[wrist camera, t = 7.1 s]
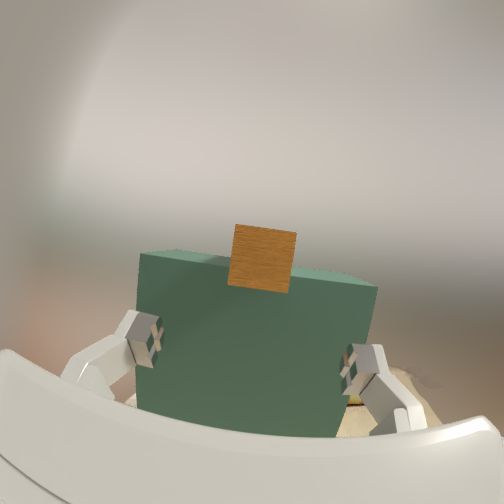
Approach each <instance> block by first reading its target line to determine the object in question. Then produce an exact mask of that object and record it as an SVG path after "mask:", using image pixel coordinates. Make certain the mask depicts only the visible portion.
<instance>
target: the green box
mask: <svg viewBox="0 0 504 504" xmlns="http://www.w3.org/2000/svg"><path fill="white" fill-rule="evenodd" d="M230 261H231V257H223V256H217V255H210V254H203V253H196V252H189V251H182V250H166V251H157V252H147V253H141V254H140V263H139V274H138V287H137V304H136V311H139V312H143V313H147V314H151V315H155V316H159V317H162V321H163V323H162V326H161V327H162V328H163V329H164V332H165V339H164V344H163V346H162V349H161V350H159V351H158V352H157V354H158V359H157V361H156V364H155V366H154V368H150V367H146V366H142V365H138V364H136V366H135V367H136V368H135V369H136V370H135V371H136V397H137V408H138V409H141V410H144V411H148V412H151V413H155V414H158V415H162V416H165V417H169V418H173V419H177V420H181V421H185V422H190V423H194V424H199V425H204V426H209V427H214V428H220V429H226V430H232V431H239V432H246V433H254V434H263V435H274V436H288V437H314V438H335V437H336V434H337V432H338V429H339V426H340V424H341V421H342V418H343V416H344V413H345V410H346V407H347V404H348V402H349V399H350V396H351V395H342V390H341V381H342V380H343V377H342V376H341V375H340V371H339V366H340V361H341V358H342V356H343V354H345V353H347V347H348V345H349V344H350V343H355V344H366V340H367V336H368V332H369V328H370V324H371V319H372V315H373V309H374V305H375V300H376V295H377V290H378V287H377V286H375V285H372V284H370V283H367V282H365V281H362V280H360V279H357V278H355V277H352V276H350V275H347V274H345V273H338V272H331V271H323V270H316V269H309V268H301V267H294V266H292V269H291V276H290V282H289V288H288V293H282V292H275V291H268V290H260V289H253V288H246V287H240V286H233V285H227V284H228V276H229V269H230Z"/></svg>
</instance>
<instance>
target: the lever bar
mask: <svg viewBox="0 0 504 504" xmlns="http://www.w3.org/2000/svg"><path fill="white" fill-rule="evenodd" d="M296 234H297V233H296V232H289V231H281V230H275V229H268V228H261V227H254V226H247V225H239V224H236V226H235V232H234V239H233V246H232V254H231V261H230V269H229V276H228V284H227V285H233V286H240V287H246V288H253V289H260V290H268V291H275V292H282V293H288V288H289V282H290V276H291V269H292V262H293V256H294V249H295V242H296Z"/></svg>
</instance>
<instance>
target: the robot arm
mask: <svg viewBox="0 0 504 504" xmlns="http://www.w3.org/2000/svg"><path fill="white" fill-rule="evenodd" d="M162 323H163V321H162V317H159V316H155V315H151V314H147V313H143V312H139V311H135V310H131V309H130V310H129V311H127V313H126V315H125V316H124V318H123V320H122V321H121V323H120V325H119V326H118V328H117V330H116V332H115V333H114V335H111V334H110V335H109V336H107V337H105V338H104V339H102V340H100V341H98V342H96V343H95V344H93V345H91V346H89V347H87V348H86V349H84V350H82V351H80V352H79V353H77V354H75V355H73V356H72V357H71V359H70V360H69V362H68V364H67V365H66V367H65V369H64V370H63V372H62V374H61V376H60V377H58V376H57V375H54V374H53V373H51V372H49V371H47V370H45V369H43V368H41V367H39V366H37V365H35V364H34V363H32V362H30V361H29V360H27V359H25V358H23V357H22V356H20V355H18V354H17V353H15V352H14V351H12V350H10V349H4V350H1V351H0V504H504V448H503V443H502V439H501V436H500V433H499V431H498V430H497V428H496V427H495V426H494V425H493V424H492V423H491V422H490V421H489V420H488V419H487V418H485V417H484V416H476V417H472V418H469V419H465V420H462V421H458V422H454V423H449V424H445V425H440V426H436V427H431V428H427V424H426V419H425V415H424V410H423V406H422V404H421V403H420V402H419V401H418V400H417V399H416V398H415V397H414V396H413V395H412V394H411V393H410V392H409V391H408V390H407V389H406V387H405V386H404V385H403V384H402V383H401V382H400V381H399V380H398V379H397V378H396V377H395V376H394V375H393V374H390V373H389V369H388V365H387V362H386V357H385V354H384V350H383V347H382V345H375V344H355V343H350V344H349V345H348V347H347V353H345V354H343V356H342V358H341V361H340V366H339V371H340V375H341V376H342V377H343V380H342V381H341V390H342V395H359V397H360V398H361V400H362V401H363V403H364V404H365V406H366V407H367V409H368V410H369V412H370V413H371V415H372V416H373V417H374V419H375V420H376V422H377V423H378V425H377V426H376V427H375V428H374V429H373V430H371V431H370V432H369V436H360V437H335V438H314V437H288V436H274V435H263V434H254V433H246V432H239V431H232V430H226V429H220V428H214V427H209V426H204V425H199V424H194V423H190V422H185V421H181V420H177V419H173V418H169V417H165V416H162V415H158V414H155V413H151V412H148V411H144V410H141V409H138V408H135V407H132V406H129V405H126V404H123V403H120V402H117V401H115V400H114V399H115V396H114V394H113V393H112V391H111V389H110V388H109V386H110V385H112V384H113V383H114V382H115V381H117V380H118V379H119V378H120V377H122V376H123V375H124V374H126V373H127V372H128V371H129V370H131V369H132V368H133V367H135V366H136V364H138V365H142V366H146V367H150V368H154V366H155V364H156V361H157V359H158V354H157V352H158V351H159V350H161V349H162V346H163V344H164V339H165V332H164V329H163V328H162V327H161V326H162Z"/></svg>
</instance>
